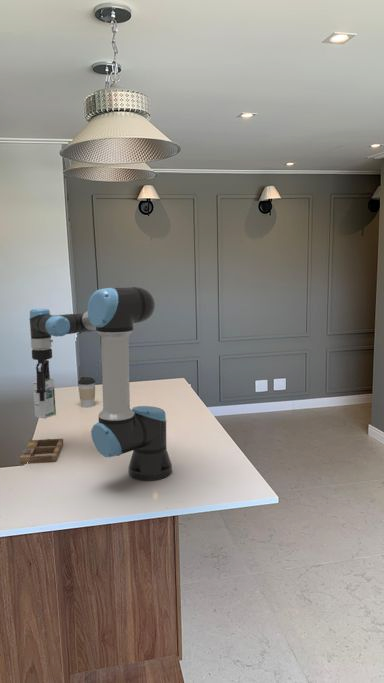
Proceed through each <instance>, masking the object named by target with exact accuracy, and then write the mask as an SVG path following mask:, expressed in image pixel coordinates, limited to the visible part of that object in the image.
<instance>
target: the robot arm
mask: <svg viewBox="0 0 384 683" xmlns="http://www.w3.org/2000/svg"><path fill="white" fill-rule="evenodd" d="M155 305H156V303H155V300H154V296H153V295H152V294H151V293H150V292H149V290H147V289H145V288H143V287H140V286H139V287H138V286H130V287H106V288H100V289H97V290H96V291H94V292H93V294H92V295H91V296H90V298H89V300H88V303H87V311H84V312H79V313H65V314H51V310H50V309H49V308H32V309H30V310H29V318H28V319H29V327H30V330H29V331H30V347H31V349H32V350H31V359H32V360H36V361H37V363H36V366H35V370H36V381H37V391H36V393H38V395H39V409H47V402H46V392H45V379H51V376H50V360H51V359H52V358H53V349H52V343H53V342H54V340H53V339H52V336H53V337H64V336H66V335H72V334H79V333H92V332H96V333H97V334H98V335H99V336H100V340H101V342H100V343H101V344H100V345H101V374H102V375H101V380H102V410H101V411H100V412H99V413H98V415H97V416H98V422H96V423H95V424H94V425H92V427H91V430H90V431H91V432H90V434H91V439H92V443H93V445H94V448H96V450H97V451H98V453H99V454H100V455H102V457H105V458H113V457H119V456H121V455H123V454H126V453H129V452H132V453H131V454H132V455H131V458H130V462H129V465H128V475H129V476H130V477H131V478H133V479H135V480H139V481H140V480H141V481H157V480H161V479H164V478H167V477H168V476H170V475H171V474H172V472H173V465H172V464H173V463H172V462H171V458H170V455H169V453H168V450H167V416H166V412H165V410H164V409H163V408H160V407H156V406H149V405H138V406H134V407H132V409H131V407H130V406H131V404H130V401H131V400H130V396H131V395H130V348H129V346H130V345H129V344H130V343H129V336H130V334H132V333H133V332H134V324H137V323H142V322H145V321H148V319H150V318H151V317H152V316H153V314H154V312H155V307H156V306H155Z"/></svg>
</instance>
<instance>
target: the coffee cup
mask: <svg viewBox="0 0 384 683" xmlns="http://www.w3.org/2000/svg"><path fill="white" fill-rule="evenodd" d="M77 384H78V392H79V393H78V394H79V399H80V407H81V408H84V407H85V408H92V406H93V407H94V406H95V398H96V380H95V379H94V378H93V377H84V376H83V377H80V378H79V380H78V381H77Z"/></svg>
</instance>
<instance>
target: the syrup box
mask: <svg viewBox="0 0 384 683" xmlns="http://www.w3.org/2000/svg"><path fill="white" fill-rule="evenodd" d="M32 388H33V390H32V391H33V401H34V403H33V404H34V416H35V417H36V418H39V419H48V418H50V417H54V416H56V415H57V410H56V398H55V397H56V393H55V382H54V379H51V378H50V379H45V392H46V402H47V409H39V395H38V393H36V391H37V380H34V381H32Z"/></svg>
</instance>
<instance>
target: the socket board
mask: <svg viewBox="0 0 384 683" xmlns="http://www.w3.org/2000/svg"><path fill="white" fill-rule="evenodd" d="M63 447H64V438H49V439H47V438H46V439H30V440H29V442H28V443H27V445H26V447H25V448H24V449H23V452H22V453H21V454H20V456H19V464H20V465H24V464H25V465H26V464H27V462H28V464H42V463H57V461H58V458H59V457H60V454H61V451H62V449H63Z"/></svg>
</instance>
